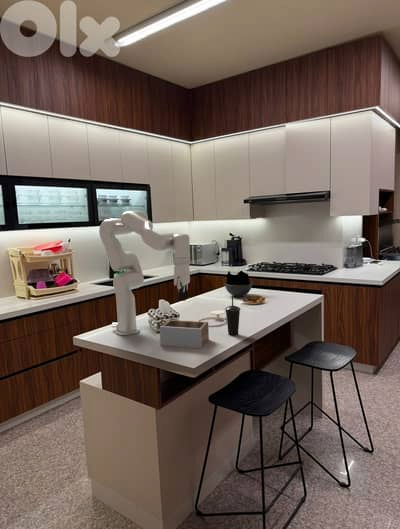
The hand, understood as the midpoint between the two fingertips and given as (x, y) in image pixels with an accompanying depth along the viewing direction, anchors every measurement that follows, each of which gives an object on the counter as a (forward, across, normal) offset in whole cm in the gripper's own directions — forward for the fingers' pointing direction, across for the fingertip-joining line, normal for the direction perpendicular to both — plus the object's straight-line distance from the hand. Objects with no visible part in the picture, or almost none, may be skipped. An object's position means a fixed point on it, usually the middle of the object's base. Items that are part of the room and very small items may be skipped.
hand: (183, 299), depth 173 cm
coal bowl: (+21, -102, +6) cm, 104 cm away
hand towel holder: (+22, -36, +4) cm, 42 cm away
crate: (+21, 0, 0) cm, 21 cm away
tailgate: (+21, +7, 0) cm, 22 cm away
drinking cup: (+21, -16, +20) cm, 33 cm away
